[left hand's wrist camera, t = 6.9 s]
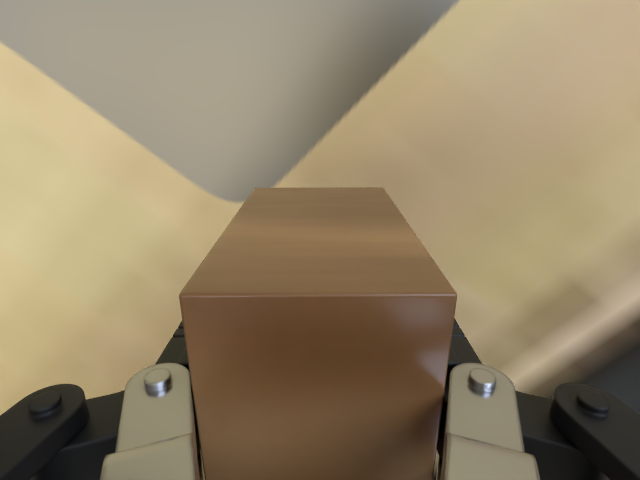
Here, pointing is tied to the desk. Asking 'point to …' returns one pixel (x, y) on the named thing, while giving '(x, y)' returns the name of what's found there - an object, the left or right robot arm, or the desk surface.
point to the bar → (318, 341)
